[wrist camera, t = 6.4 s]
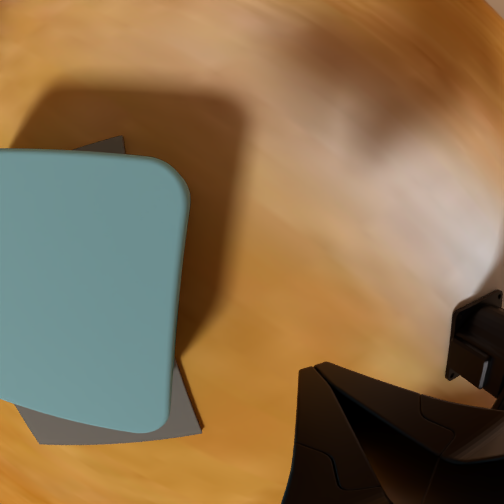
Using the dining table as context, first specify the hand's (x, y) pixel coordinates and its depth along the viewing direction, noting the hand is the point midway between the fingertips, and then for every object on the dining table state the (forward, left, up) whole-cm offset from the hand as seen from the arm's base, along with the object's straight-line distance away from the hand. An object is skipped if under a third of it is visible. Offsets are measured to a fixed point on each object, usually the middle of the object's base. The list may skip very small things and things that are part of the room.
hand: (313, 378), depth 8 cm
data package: (+4, -1, -6) cm, 7 cm away
